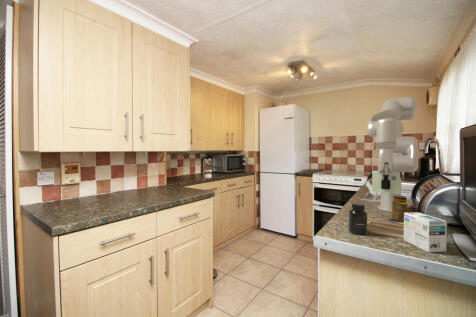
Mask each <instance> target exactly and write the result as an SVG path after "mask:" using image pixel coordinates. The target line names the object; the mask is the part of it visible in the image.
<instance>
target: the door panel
mask: <svg viewBox="0 0 476 317" xmlns="http://www.w3.org/2000/svg"><path fill="white" fill-rule="evenodd" d="M371 172H372V174H371V175H372V177H371V192H374V193H375V192H376V193H381V192H385V193H397V194H400V178H401V172H391V173H390V189H381V180H382V171H380V173H379V172H378V170H372V171H371ZM383 173H384V172H383ZM388 173H389V172H388ZM383 180H384V179H383Z"/></svg>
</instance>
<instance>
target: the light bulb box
mask: <svg viewBox="0 0 476 317" xmlns="http://www.w3.org/2000/svg"><path fill="white" fill-rule="evenodd" d="M403 225H404V238H403V241H405V242H407V243H409V244H410V245H413V246H415V247H417V248H419V249H421V250H423V251H425V252H427V253H443V252H444V253H445V252H447V240H448V239H447V235H448V233H447V229H448V228H447V227H448V221H447V219H442V218H438V217H435V216H432V215H428V214H426V213H422V212H407V213H404V224H403Z"/></svg>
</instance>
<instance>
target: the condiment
mask: <svg viewBox="0 0 476 317" xmlns="http://www.w3.org/2000/svg"><path fill="white" fill-rule="evenodd" d="M408 207H409V206H408V201H407V196H404V195H401V196H399V195H395V196H393V201H392V212H391V217H390V218H387V219H386V221H388V222H391V223H392V222H393V223H394V224H398V225H404V213H408Z"/></svg>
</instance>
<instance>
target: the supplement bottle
mask: <svg viewBox="0 0 476 317" xmlns="http://www.w3.org/2000/svg"><path fill="white" fill-rule="evenodd" d="M365 209H366V206H365V204H364V203H359V202H352V203H351V208H350V209H349V211H348V226H347V227H348V228H347V229H348V232H349V233H351V234H353V235H356V236H357V235H358V236H365V235H367V233H368V232H367V220H368V212H367V211H366V210H365Z"/></svg>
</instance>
